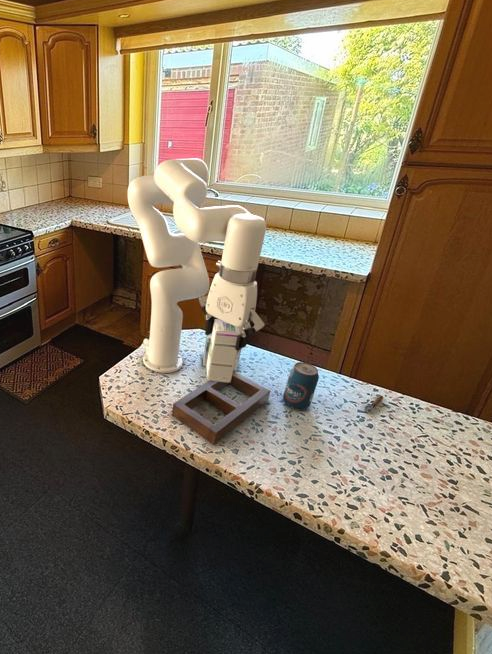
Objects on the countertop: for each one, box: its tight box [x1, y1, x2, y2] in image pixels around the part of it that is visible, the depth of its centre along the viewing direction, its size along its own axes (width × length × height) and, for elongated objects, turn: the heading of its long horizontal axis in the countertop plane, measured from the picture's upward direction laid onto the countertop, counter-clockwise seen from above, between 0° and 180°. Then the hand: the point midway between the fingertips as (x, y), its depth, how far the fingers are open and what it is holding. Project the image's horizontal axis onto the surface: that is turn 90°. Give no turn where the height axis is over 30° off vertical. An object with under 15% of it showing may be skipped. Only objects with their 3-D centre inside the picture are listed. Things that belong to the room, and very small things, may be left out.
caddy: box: [171, 370, 271, 446], centre depth 108 cm, size 14×25×4 cm, turn 129°
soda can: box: [282, 361, 320, 411], centre depth 108 cm, size 7×7×12 cm
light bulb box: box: [202, 333, 242, 372], centre depth 126 cm, size 11×7×11 cm, turn 76°
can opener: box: [364, 395, 384, 412], centre depth 110 cm, size 9×2×1 cm, turn 123°
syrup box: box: [205, 318, 240, 383], centre depth 96 cm, size 6×6×14 cm
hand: (224, 340), depth 95 cm, fingers closed on syrup box, 7 cm apart
